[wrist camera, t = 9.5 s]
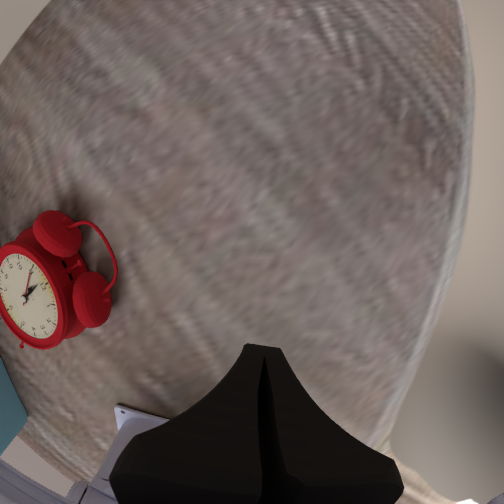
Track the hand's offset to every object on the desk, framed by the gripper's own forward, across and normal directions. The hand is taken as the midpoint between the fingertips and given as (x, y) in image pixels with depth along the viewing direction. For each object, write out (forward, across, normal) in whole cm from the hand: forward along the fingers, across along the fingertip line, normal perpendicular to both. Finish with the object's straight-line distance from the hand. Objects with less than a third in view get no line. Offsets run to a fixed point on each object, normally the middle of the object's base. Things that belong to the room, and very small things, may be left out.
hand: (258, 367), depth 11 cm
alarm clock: (+11, +17, +3) cm, 20 cm away
